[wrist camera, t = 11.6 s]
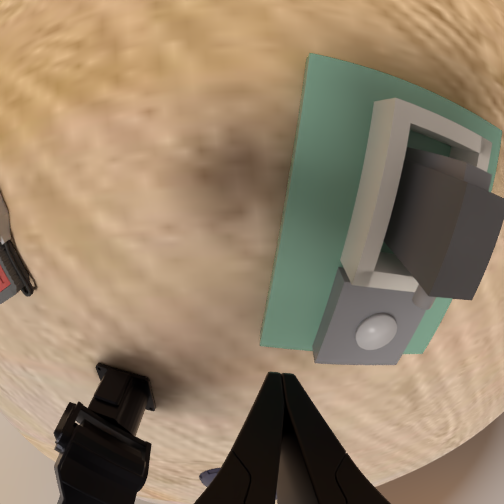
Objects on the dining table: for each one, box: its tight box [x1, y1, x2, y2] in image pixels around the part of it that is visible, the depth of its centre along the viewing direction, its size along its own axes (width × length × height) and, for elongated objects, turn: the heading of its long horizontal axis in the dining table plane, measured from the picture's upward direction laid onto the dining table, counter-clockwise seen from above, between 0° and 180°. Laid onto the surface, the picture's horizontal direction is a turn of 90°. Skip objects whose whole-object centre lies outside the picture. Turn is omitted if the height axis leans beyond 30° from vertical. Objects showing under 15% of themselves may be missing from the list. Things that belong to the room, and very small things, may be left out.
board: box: [260, 53, 502, 365], centre depth 16 cm, size 20×15×4 cm
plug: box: [384, 147, 504, 310], centre depth 12 cm, size 7×3×7 cm, turn 173°
